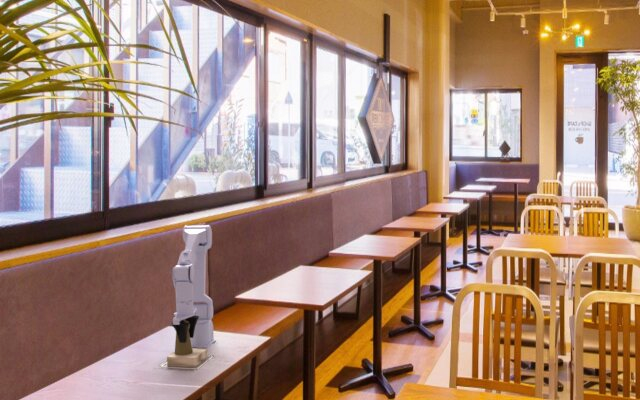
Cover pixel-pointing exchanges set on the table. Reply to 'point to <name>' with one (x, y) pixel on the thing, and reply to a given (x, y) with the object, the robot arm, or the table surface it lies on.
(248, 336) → the table surface
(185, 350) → the cork
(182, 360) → the birch block
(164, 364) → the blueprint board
